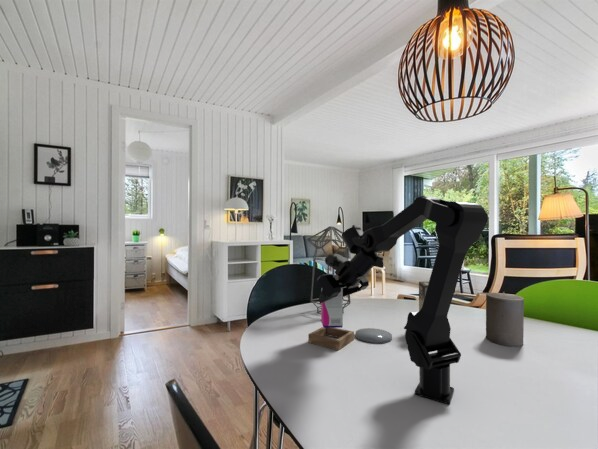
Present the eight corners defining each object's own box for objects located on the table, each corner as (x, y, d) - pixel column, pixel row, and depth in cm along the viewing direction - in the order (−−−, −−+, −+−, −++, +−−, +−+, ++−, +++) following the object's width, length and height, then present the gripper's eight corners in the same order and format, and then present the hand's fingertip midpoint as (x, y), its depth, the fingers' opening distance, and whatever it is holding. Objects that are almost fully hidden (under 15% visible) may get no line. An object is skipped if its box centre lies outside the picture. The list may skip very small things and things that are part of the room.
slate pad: (385, 346, 88) (385, 342, 88) (349, 338, 94) (349, 335, 94) (396, 335, 97) (396, 332, 97) (363, 329, 103) (363, 326, 103)
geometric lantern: (303, 312, 123) (304, 226, 124) (329, 306, 134) (330, 226, 135) (332, 321, 112) (333, 225, 113) (358, 313, 122) (359, 226, 123)
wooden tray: (339, 350, 84) (339, 341, 84) (308, 342, 90) (308, 334, 90) (353, 339, 93) (353, 331, 93) (324, 333, 98) (324, 325, 98)
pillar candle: (478, 337, 96) (478, 289, 96) (500, 333, 99) (500, 287, 100) (509, 349, 87) (509, 296, 87) (532, 344, 90) (532, 293, 90)
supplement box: (339, 321, 94) (339, 284, 95) (342, 328, 88) (343, 288, 89) (320, 321, 94) (321, 284, 94) (322, 327, 88) (323, 288, 88)
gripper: (360, 244, 96) (332, 276, 103) (322, 245, 83) (293, 282, 90) (383, 271, 90) (351, 303, 98) (346, 277, 77) (313, 314, 84)
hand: (328, 299), depth 92 cm, fingers closed on supplement box, 8 cm apart
